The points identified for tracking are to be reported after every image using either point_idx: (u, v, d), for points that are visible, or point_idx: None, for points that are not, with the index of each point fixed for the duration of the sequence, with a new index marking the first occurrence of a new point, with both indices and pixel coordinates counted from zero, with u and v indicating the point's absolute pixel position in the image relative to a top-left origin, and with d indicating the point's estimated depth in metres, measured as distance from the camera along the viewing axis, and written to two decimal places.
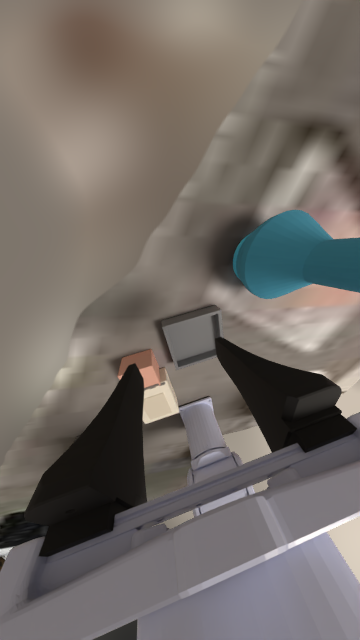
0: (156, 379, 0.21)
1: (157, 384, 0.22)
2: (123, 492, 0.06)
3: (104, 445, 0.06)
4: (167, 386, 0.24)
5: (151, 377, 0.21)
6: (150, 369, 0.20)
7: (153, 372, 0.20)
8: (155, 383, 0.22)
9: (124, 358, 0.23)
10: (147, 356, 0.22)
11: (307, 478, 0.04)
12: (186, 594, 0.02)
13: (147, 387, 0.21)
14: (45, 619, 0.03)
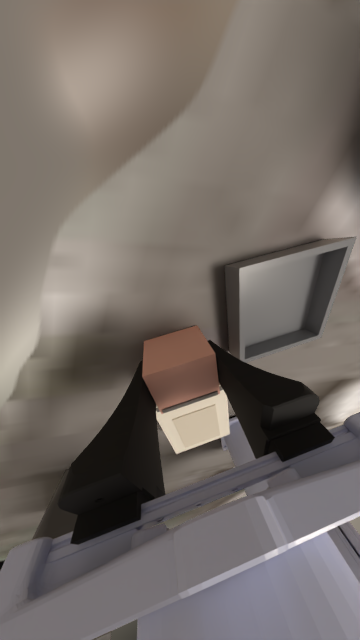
0: (216, 383, 0.11)
1: (215, 392, 0.11)
2: (147, 483, 0.06)
3: (129, 436, 0.06)
4: (224, 393, 0.13)
5: (208, 378, 0.10)
6: (211, 361, 0.09)
7: (214, 368, 0.10)
8: (212, 391, 0.11)
9: (148, 342, 0.12)
10: (195, 337, 0.11)
11: (307, 478, 0.04)
12: (186, 594, 0.02)
13: (196, 399, 0.11)
14: (45, 619, 0.03)
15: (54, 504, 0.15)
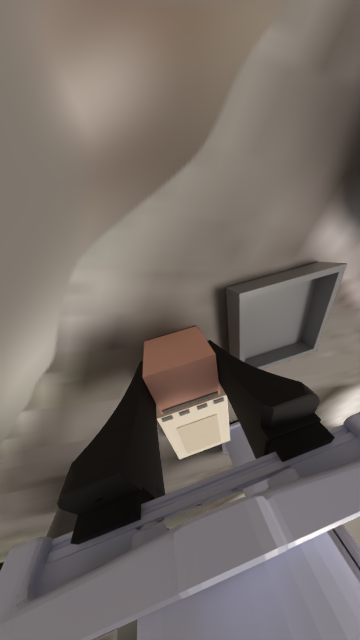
0: (216, 383, 0.11)
1: (215, 393, 0.11)
2: (147, 483, 0.06)
3: (129, 436, 0.06)
4: (225, 404, 0.14)
5: (208, 379, 0.10)
6: (211, 361, 0.09)
7: (214, 369, 0.10)
8: (212, 391, 0.11)
9: (149, 343, 0.12)
10: (196, 338, 0.11)
11: (307, 478, 0.04)
12: (186, 594, 0.02)
13: (196, 399, 0.11)
14: (45, 619, 0.03)
15: None
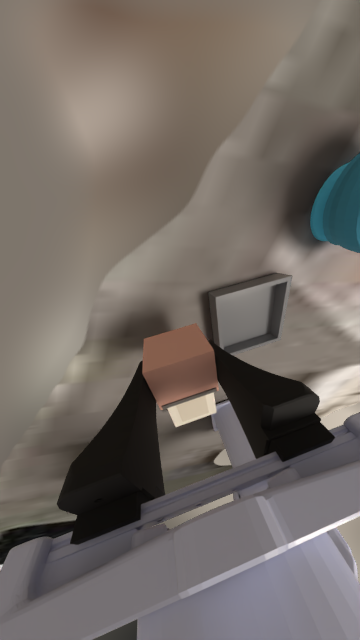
0: (214, 379, 0.11)
1: (214, 389, 0.11)
2: (147, 483, 0.06)
3: (129, 436, 0.06)
4: None
5: (207, 375, 0.10)
6: (210, 358, 0.10)
7: (213, 365, 0.10)
8: (210, 387, 0.11)
9: (148, 340, 0.12)
10: (194, 335, 0.11)
11: (307, 478, 0.04)
12: (186, 594, 0.02)
13: (195, 395, 0.11)
14: (45, 619, 0.03)
15: None
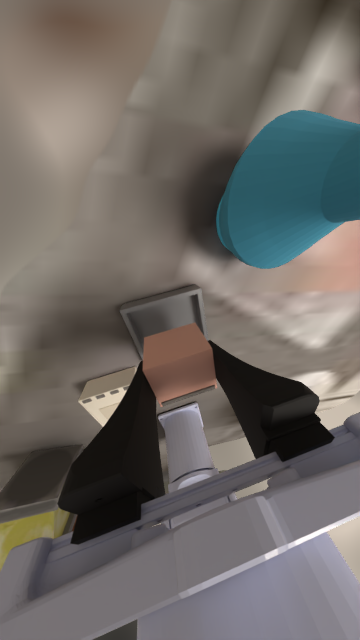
0: (213, 377, 0.11)
1: (212, 386, 0.12)
2: (147, 483, 0.06)
3: (129, 436, 0.06)
4: None
5: (205, 373, 0.11)
6: (208, 356, 0.10)
7: (211, 363, 0.10)
8: (209, 385, 0.11)
9: (148, 339, 0.12)
10: (193, 334, 0.12)
11: (307, 478, 0.04)
12: (186, 594, 0.02)
13: (194, 392, 0.11)
14: (45, 619, 0.03)
15: (18, 474, 0.21)
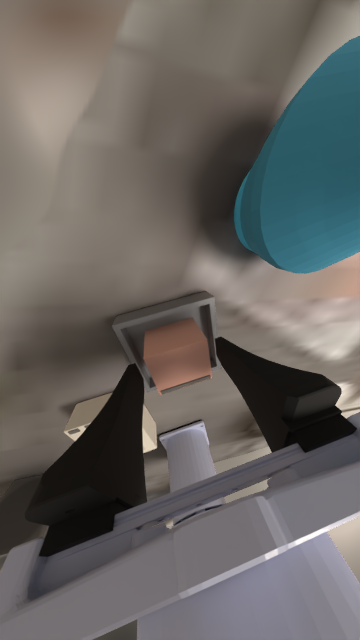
0: (208, 367, 0.12)
1: (208, 376, 0.12)
2: (123, 492, 0.06)
3: (104, 445, 0.06)
4: None
5: (201, 363, 0.12)
6: (203, 346, 0.11)
7: (206, 353, 0.11)
8: (205, 374, 0.12)
9: (149, 332, 0.13)
10: (190, 327, 0.12)
11: (307, 478, 0.04)
12: (186, 594, 0.02)
13: (191, 381, 0.12)
14: (45, 619, 0.03)
15: None
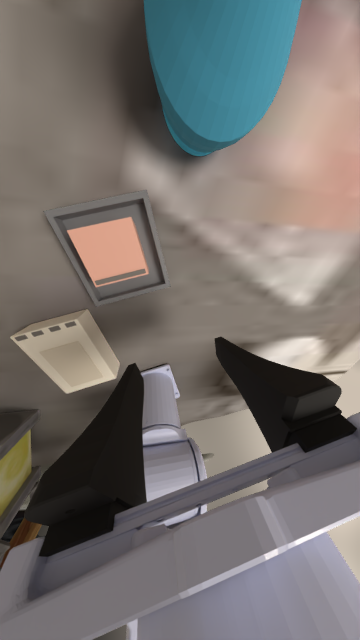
0: (141, 257, 0.12)
1: (143, 270, 0.13)
2: (123, 492, 0.06)
3: (104, 445, 0.06)
4: (82, 330, 0.16)
5: (132, 249, 0.12)
6: (129, 226, 0.11)
7: (134, 237, 0.12)
8: (139, 268, 0.13)
9: None
10: None
11: (307, 478, 0.04)
12: (186, 594, 0.02)
13: (125, 273, 0.13)
14: (45, 619, 0.03)
15: None
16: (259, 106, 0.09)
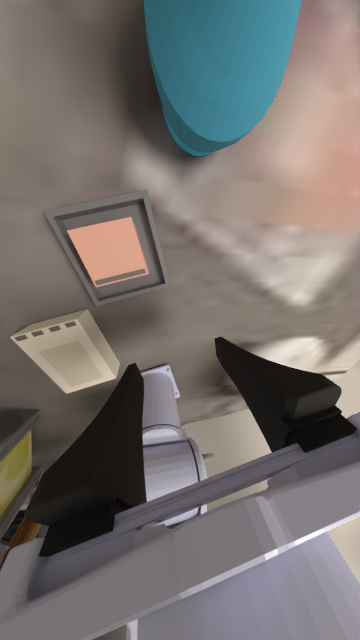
0: (141, 257, 0.12)
1: (143, 270, 0.13)
2: (123, 492, 0.06)
3: (104, 445, 0.06)
4: (82, 330, 0.16)
5: (132, 249, 0.12)
6: (129, 226, 0.11)
7: (134, 237, 0.12)
8: (139, 268, 0.13)
9: None
10: None
11: (307, 478, 0.04)
12: (186, 594, 0.02)
13: (125, 273, 0.13)
14: (45, 619, 0.03)
15: None
16: (259, 106, 0.09)
